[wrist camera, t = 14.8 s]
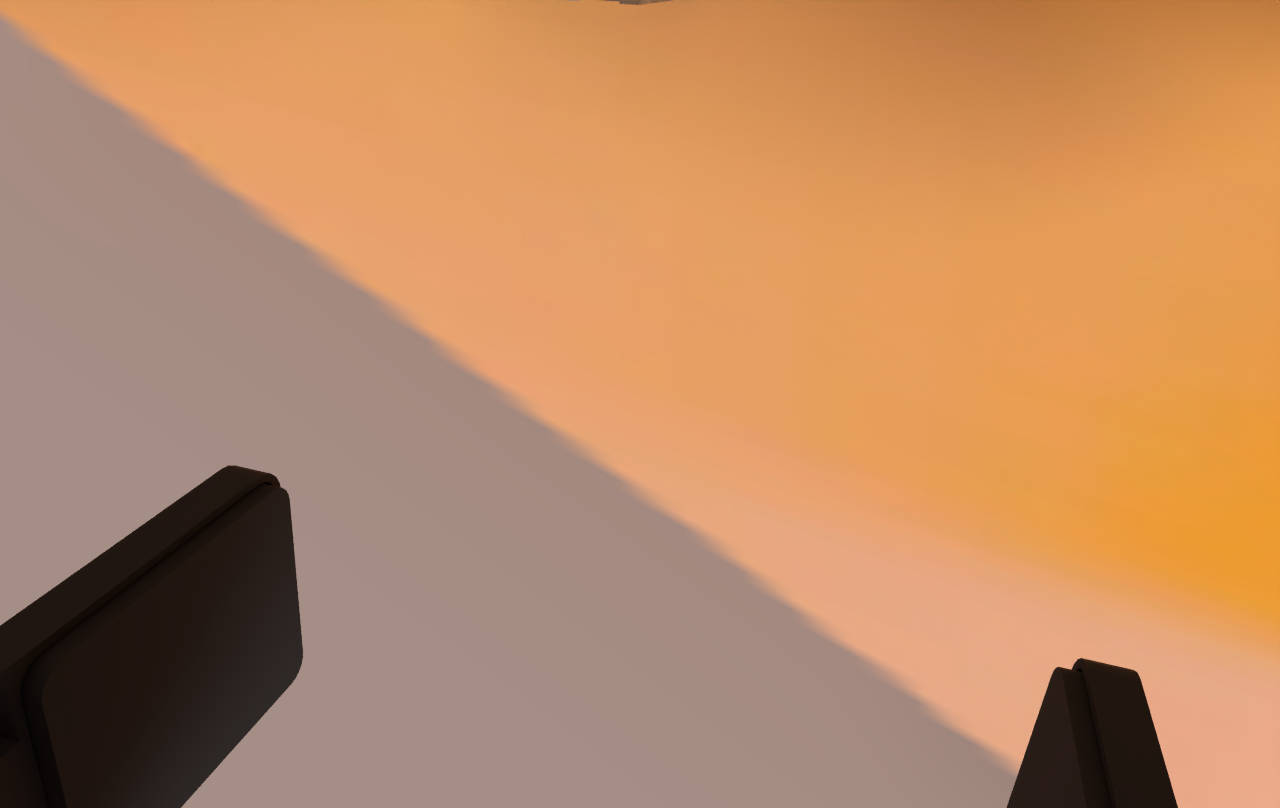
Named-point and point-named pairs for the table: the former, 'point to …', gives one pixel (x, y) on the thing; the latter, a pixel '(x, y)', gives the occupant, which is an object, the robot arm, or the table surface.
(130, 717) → the robot arm
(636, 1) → the box
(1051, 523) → the table surface
